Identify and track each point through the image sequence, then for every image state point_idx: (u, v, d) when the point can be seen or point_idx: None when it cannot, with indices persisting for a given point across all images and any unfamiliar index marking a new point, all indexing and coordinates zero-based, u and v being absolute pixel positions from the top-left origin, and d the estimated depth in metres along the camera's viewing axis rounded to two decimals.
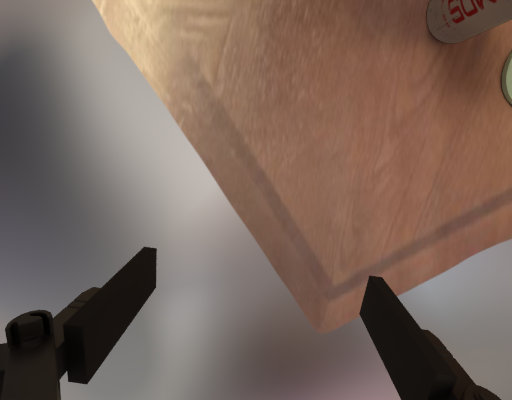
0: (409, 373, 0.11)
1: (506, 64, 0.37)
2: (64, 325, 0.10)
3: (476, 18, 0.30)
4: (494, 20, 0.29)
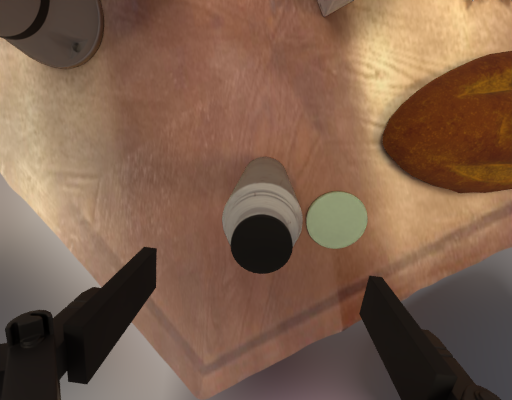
0: (409, 373, 0.11)
1: (306, 215, 0.48)
2: (64, 325, 0.10)
3: None
4: None
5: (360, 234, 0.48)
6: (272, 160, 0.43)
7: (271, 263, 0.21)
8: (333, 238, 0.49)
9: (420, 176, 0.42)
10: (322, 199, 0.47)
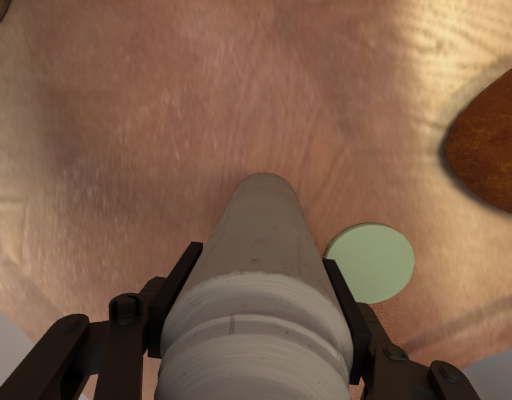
0: None
1: (325, 257, 0.33)
2: (149, 306, 0.11)
3: None
4: None
5: (403, 285, 0.33)
6: (275, 180, 0.28)
7: None
8: (363, 290, 0.34)
9: (508, 206, 0.26)
10: (349, 235, 0.32)
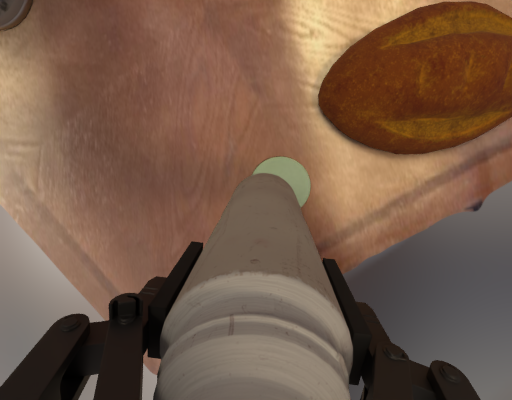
0: None
1: None
2: (149, 306, 0.11)
3: None
4: None
5: (304, 200, 0.48)
6: (275, 180, 0.28)
7: None
8: None
9: (355, 136, 0.41)
10: (264, 164, 0.47)
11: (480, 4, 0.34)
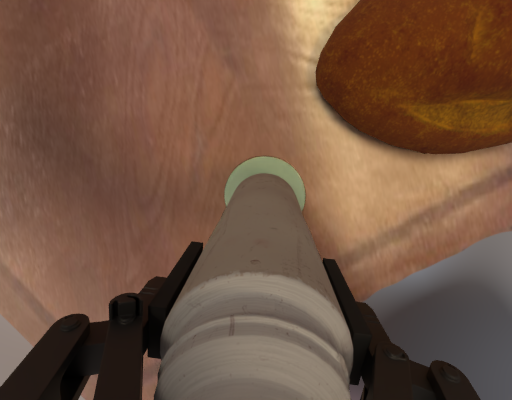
0: None
1: (225, 190, 0.36)
2: (149, 306, 0.11)
3: None
4: None
5: None
6: (275, 180, 0.28)
7: None
8: None
9: (367, 128, 0.29)
10: (243, 167, 0.35)
11: None
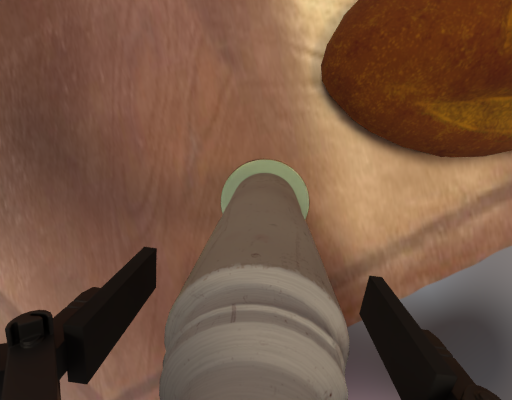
0: (409, 373, 0.11)
1: None
2: (64, 325, 0.10)
3: None
4: None
5: None
6: (275, 179, 0.28)
7: None
8: None
9: (379, 129, 0.26)
10: (241, 171, 0.32)
11: None
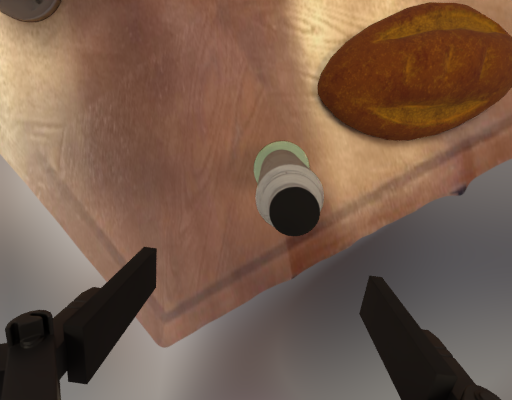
0: (409, 373, 0.11)
1: (254, 164, 0.52)
2: (64, 325, 0.10)
3: None
4: None
5: None
6: (289, 152, 0.47)
7: (302, 227, 0.25)
8: None
9: (350, 122, 0.46)
10: (267, 148, 0.51)
11: (461, 5, 0.38)
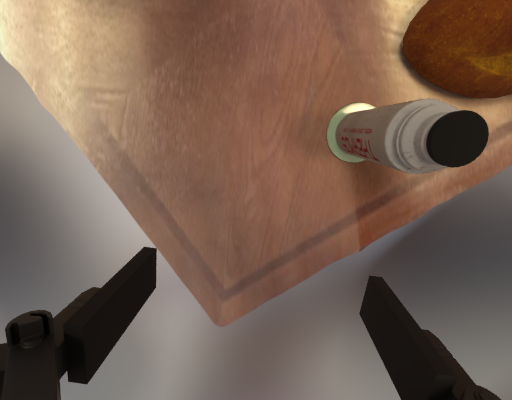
0: (409, 373, 0.11)
1: (327, 129, 0.50)
2: (64, 325, 0.10)
3: (355, 155, 0.44)
4: None
5: None
6: None
7: (466, 156, 0.23)
8: None
9: (439, 77, 0.43)
10: (343, 110, 0.49)
11: None
